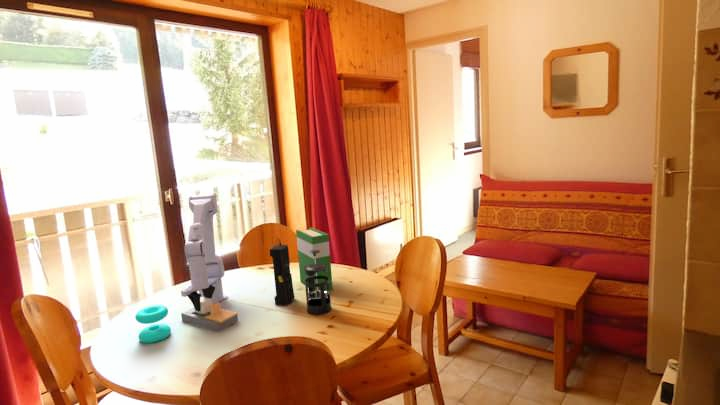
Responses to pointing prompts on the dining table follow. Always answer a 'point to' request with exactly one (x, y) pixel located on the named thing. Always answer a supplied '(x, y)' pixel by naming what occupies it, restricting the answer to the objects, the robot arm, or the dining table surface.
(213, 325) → the grey recessed box
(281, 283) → the portable radio
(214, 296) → the robot arm
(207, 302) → the beige rectangular block
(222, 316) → the shutter
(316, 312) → the french press
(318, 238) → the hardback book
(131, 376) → the dining table surface
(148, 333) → the cyan discs
